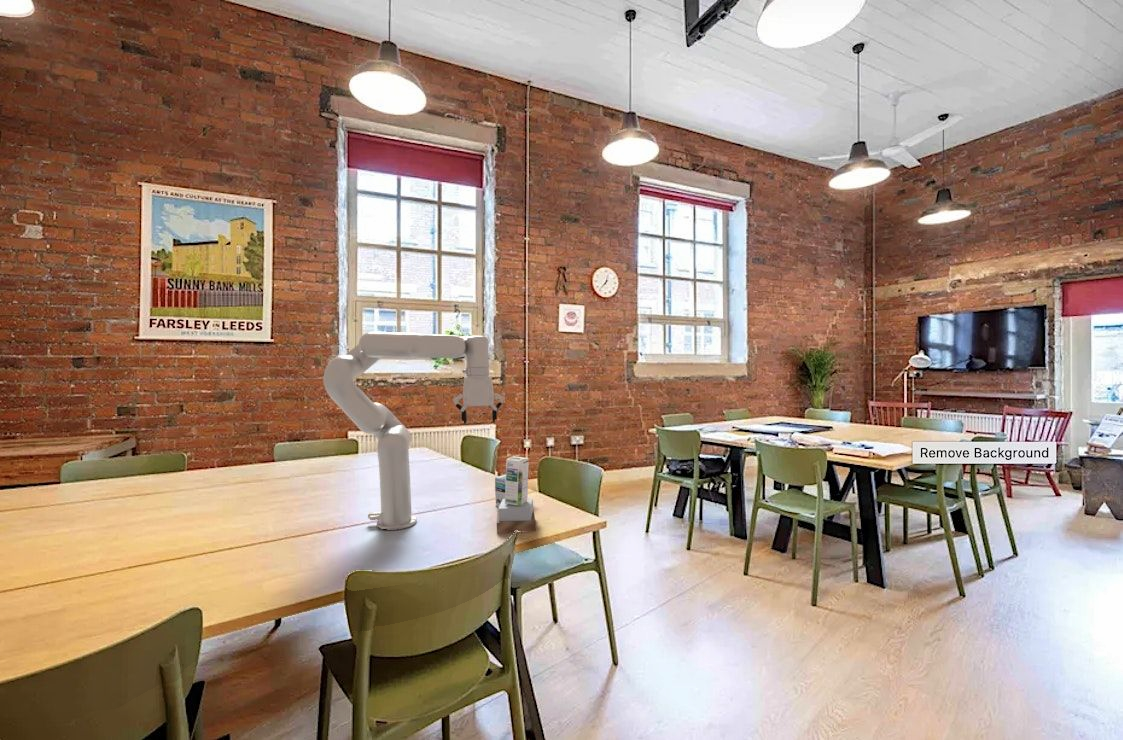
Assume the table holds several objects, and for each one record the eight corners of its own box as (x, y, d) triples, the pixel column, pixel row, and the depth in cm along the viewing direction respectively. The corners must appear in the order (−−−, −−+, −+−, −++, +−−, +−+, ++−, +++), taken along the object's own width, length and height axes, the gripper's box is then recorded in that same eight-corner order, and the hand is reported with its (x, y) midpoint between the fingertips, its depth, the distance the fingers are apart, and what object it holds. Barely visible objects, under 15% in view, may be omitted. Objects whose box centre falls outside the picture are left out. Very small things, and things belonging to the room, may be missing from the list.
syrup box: (503, 503, 158) (505, 458, 157) (512, 498, 164) (513, 455, 163) (520, 506, 156) (521, 461, 155) (528, 501, 162) (529, 457, 161)
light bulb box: (508, 509, 176) (507, 479, 176) (494, 506, 180) (493, 477, 180) (528, 502, 185) (527, 473, 184) (514, 499, 189) (513, 471, 188)
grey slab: (498, 521, 155) (498, 508, 155) (503, 510, 165) (502, 498, 165) (530, 520, 155) (530, 507, 155) (533, 510, 165) (532, 498, 165)
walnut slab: (496, 535, 154) (496, 522, 154) (497, 522, 166) (497, 510, 166) (535, 533, 155) (535, 520, 155) (533, 520, 167) (533, 508, 167)
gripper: (450, 373, 164) (452, 425, 165) (503, 372, 166) (505, 423, 166) (453, 372, 171) (455, 421, 172) (503, 371, 173) (505, 419, 174)
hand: (479, 422), depth 169 cm, fingers open, 9 cm apart
